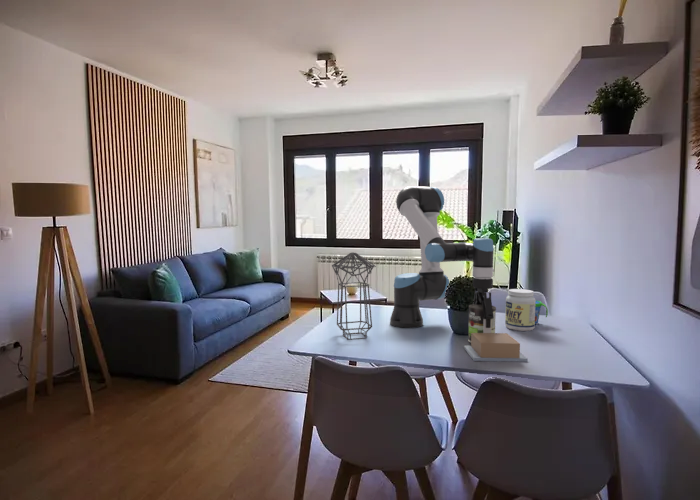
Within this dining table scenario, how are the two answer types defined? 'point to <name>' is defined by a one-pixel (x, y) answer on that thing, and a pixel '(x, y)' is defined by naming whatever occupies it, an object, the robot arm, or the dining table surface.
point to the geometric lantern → (353, 286)
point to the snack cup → (537, 310)
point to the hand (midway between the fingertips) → (482, 331)
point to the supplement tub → (520, 310)
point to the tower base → (494, 347)
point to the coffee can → (478, 320)
